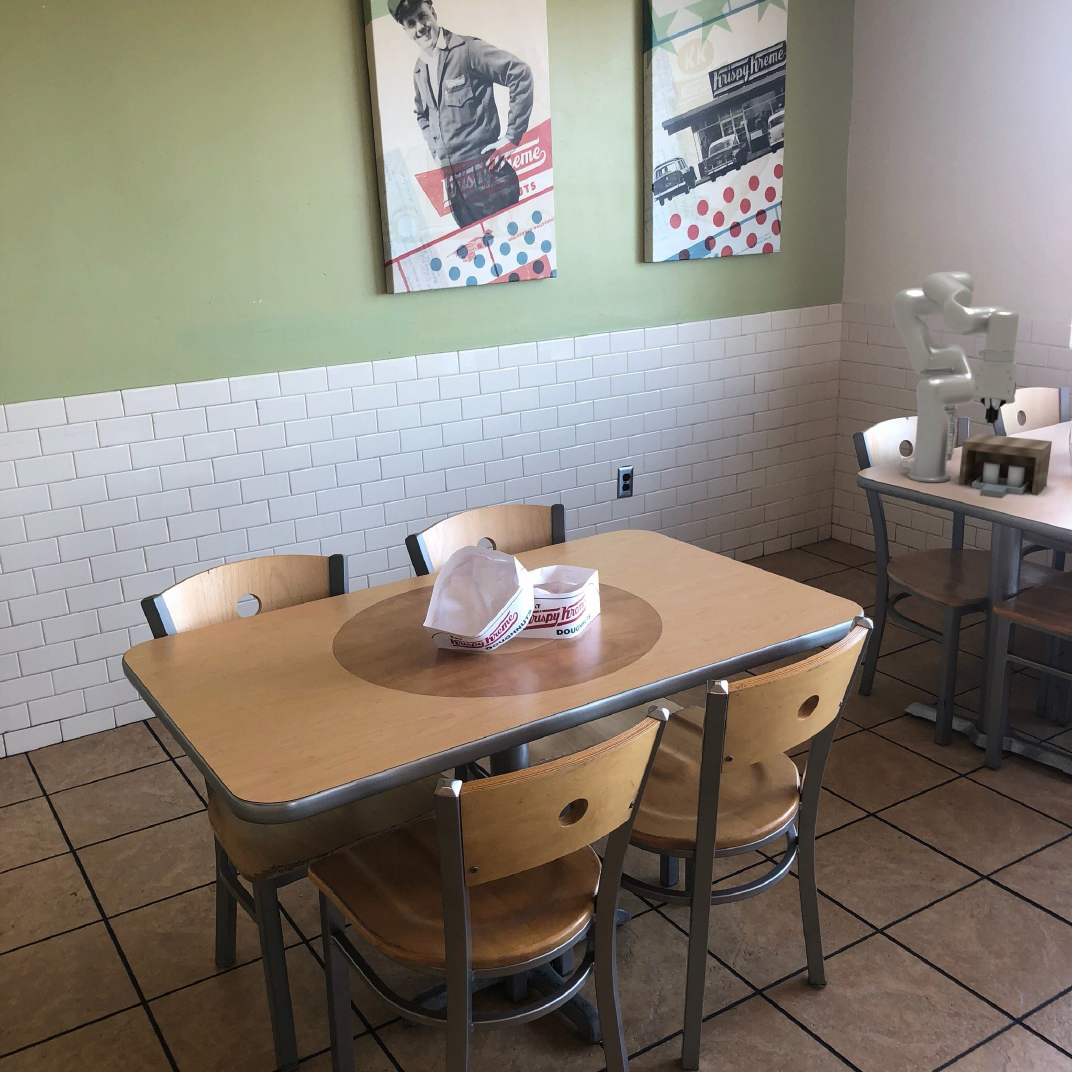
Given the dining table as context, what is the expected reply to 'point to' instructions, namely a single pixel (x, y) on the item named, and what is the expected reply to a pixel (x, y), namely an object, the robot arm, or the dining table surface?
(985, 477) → the glasses tray
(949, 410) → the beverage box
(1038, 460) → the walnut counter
